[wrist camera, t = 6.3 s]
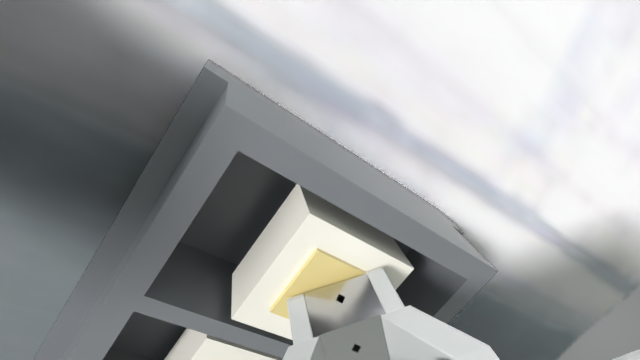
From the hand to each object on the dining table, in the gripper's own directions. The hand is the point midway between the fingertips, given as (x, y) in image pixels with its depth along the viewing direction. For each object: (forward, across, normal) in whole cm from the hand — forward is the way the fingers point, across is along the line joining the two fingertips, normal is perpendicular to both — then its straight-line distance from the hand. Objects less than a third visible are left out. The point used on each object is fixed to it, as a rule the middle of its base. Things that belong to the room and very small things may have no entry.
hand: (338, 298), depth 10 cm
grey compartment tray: (+5, +7, +5) cm, 10 cm away
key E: (+2, 0, 0) cm, 2 cm away
